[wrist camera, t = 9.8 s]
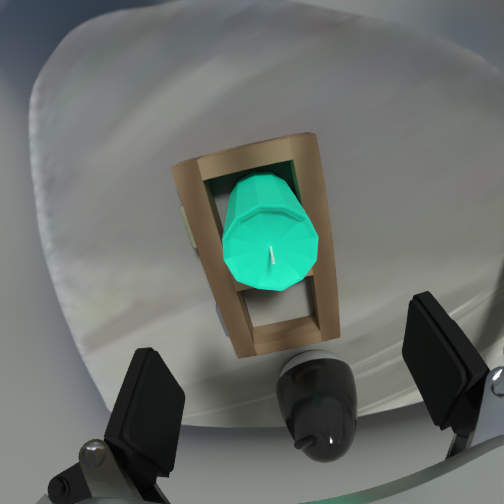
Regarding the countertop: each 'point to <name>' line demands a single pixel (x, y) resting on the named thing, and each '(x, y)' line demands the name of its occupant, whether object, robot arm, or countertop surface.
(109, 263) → the countertop surface
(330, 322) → the socket block
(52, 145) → the countertop surface
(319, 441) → the pump dispenser
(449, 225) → the countertop surface
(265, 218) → the candle
